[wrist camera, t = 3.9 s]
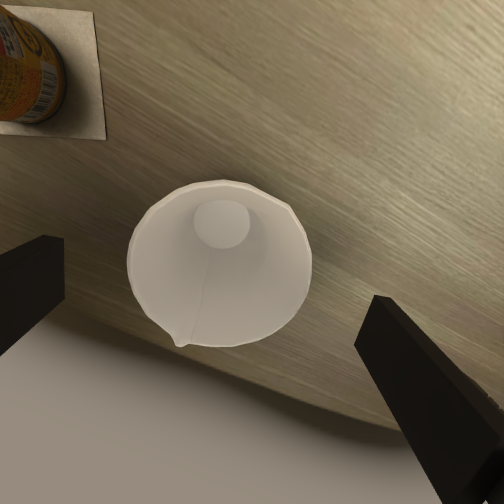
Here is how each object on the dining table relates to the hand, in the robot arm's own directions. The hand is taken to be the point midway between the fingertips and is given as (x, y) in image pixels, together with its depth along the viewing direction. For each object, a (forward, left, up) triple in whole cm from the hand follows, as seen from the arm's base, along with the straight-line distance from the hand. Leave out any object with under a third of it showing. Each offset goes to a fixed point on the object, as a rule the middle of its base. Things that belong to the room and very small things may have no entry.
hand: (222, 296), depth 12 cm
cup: (0, 0, -12) cm, 12 cm away
